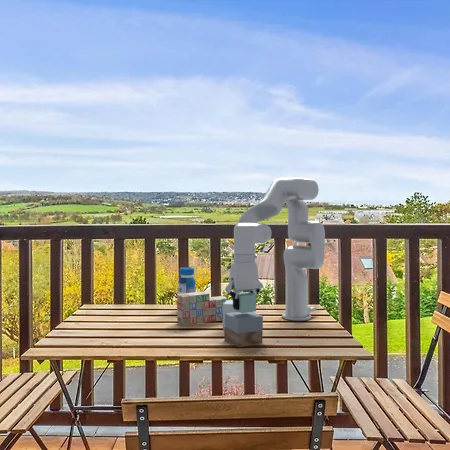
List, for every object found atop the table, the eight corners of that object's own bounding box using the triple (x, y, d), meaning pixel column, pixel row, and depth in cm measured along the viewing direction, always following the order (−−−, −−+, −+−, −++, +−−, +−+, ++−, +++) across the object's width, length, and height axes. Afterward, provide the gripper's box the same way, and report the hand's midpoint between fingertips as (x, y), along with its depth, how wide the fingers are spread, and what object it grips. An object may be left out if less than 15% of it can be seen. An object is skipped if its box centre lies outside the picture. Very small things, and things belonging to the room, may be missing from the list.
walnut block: (247, 336, 173) (247, 323, 173) (262, 343, 165) (262, 330, 165) (224, 340, 169) (224, 327, 168) (238, 348, 160) (238, 333, 160)
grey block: (248, 323, 173) (248, 310, 173) (262, 330, 164) (262, 316, 164) (225, 326, 169) (225, 313, 168) (238, 333, 160) (238, 319, 160)
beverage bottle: (195, 312, 210) (195, 269, 209) (177, 312, 211) (176, 269, 210) (196, 308, 219) (196, 266, 218) (179, 308, 219) (178, 266, 218)
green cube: (247, 307, 170) (247, 291, 170) (256, 311, 165) (256, 294, 165) (233, 309, 167) (233, 293, 167) (241, 313, 162) (241, 296, 162)
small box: (236, 330, 180) (236, 304, 180) (222, 330, 181) (222, 303, 181) (239, 325, 188) (239, 300, 188) (226, 324, 189) (226, 299, 189)
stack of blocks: (221, 316, 204) (221, 289, 203) (228, 319, 198) (228, 291, 198) (176, 322, 193) (176, 293, 193) (182, 326, 188) (182, 296, 187)
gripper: (258, 256, 173) (258, 303, 174) (218, 259, 164) (218, 308, 165) (270, 258, 166) (270, 307, 167) (228, 261, 158) (228, 313, 159)
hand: (244, 307), depth 166 cm, fingers closed on green cube, 6 cm apart
